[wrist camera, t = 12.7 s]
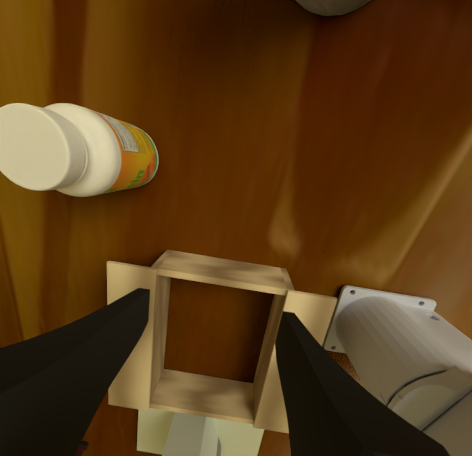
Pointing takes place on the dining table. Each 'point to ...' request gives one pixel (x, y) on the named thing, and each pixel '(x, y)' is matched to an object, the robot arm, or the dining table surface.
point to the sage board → (230, 432)
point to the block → (192, 436)
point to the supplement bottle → (73, 150)
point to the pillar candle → (331, 6)
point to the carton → (200, 386)
